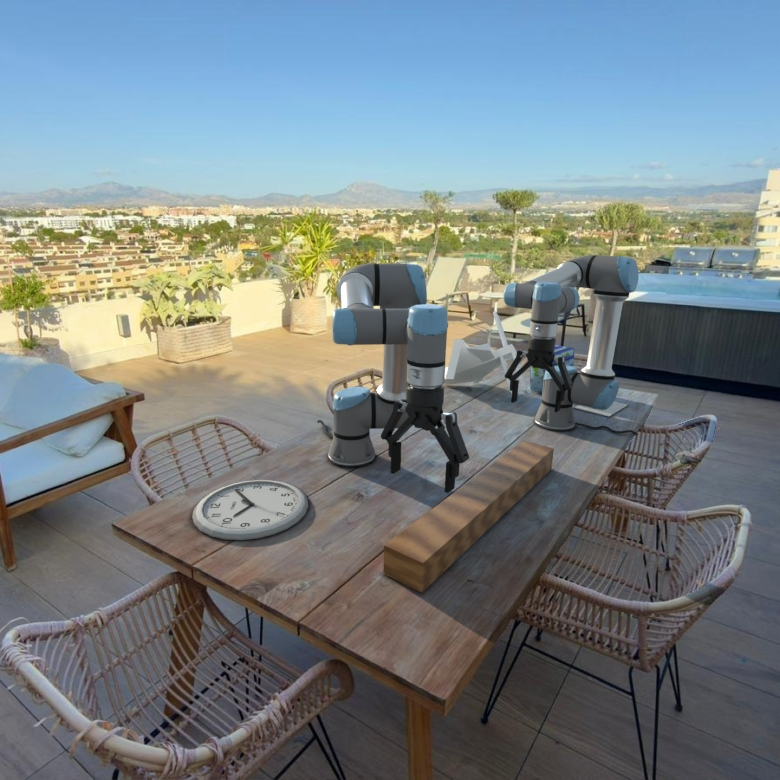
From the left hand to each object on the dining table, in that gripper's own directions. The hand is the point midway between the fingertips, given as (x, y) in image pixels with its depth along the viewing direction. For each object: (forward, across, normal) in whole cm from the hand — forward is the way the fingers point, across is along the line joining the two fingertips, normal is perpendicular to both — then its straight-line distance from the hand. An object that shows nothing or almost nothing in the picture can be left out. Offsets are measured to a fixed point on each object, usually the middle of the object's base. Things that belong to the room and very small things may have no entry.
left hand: (421, 480), depth 110 cm
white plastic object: (+22, -51, +127) cm, 139 cm away
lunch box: (+22, -26, +152) cm, 156 cm away
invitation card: (+22, 0, +143) cm, 144 cm away
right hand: (0, 0, +62) cm, 62 cm away
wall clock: (+22, -50, -6) cm, 55 cm away
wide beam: (+22, 0, +31) cm, 38 cm away
